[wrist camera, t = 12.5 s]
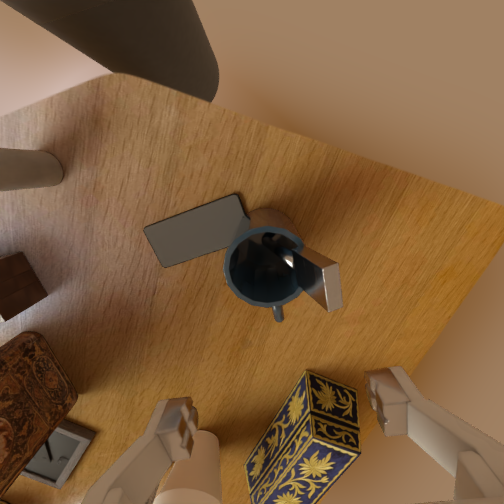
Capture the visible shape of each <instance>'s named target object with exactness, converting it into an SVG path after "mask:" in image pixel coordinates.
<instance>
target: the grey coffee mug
mask: <svg viewBox="0 0 504 504" xmlns="http://www.w3.org/2000/svg"><path fill="white" fill-rule="evenodd" d="M263 237H270V238H271V239H273V240H274V241H276V242H277V243H279V244H281V245H282V246H284V247H285V248H287V249H288V250H290V251H292V249H294V248H297V247H300V246H303V245H304V246H306V245H305V243H304V242H303V240H302V238H301V236H300V235H299V233H298V231H297V230H296V228H295V226H294V225H293V223H292V222H291V220H290V219H289V217H287V216H286V215H285V214H283V213H282V212H280V211H278V210H275V209H271V208H260V209H256V210H253V211H251V212H249V213H248V214H246V216H244V217H243V218H242V219H241V220H240V222H239V224H238V225H237V227H236V228H235V231H234V233H233V236H232V238H231V241H230V243H229V246H228V248H227V251H226V253H225V259H224V266H223V271H224V275H225V278H226V282H227V285H228V286H229V287H230V289H231V290H232V291H233V292H234V293H235V295H236V296H237V297H238V298H240V299H242V300H244V301H245V302H247V303H249V304H251V305H254V306H260V307H266V308H269V307H272V310H273V314H274V319H275V321H276V322H282V321H283V320H284V313H283V306H282V305H284V304H286V303H288V302H290V301H291V300H293V299H295V298H297V297H298V296H299V295H300V293H301V292H302V291H303V289H302V288H301V287H299V286H298V284H297V278H296V273H295V270H294V269H293V268H292V267H291V266H289V265H288V264H287V263H285V262H284V261H283V260H282V259H280V258H279V257H278V256H276V255H275V254H274V253H273V252H271V251H270V250H269V249H267V248H266V247H265V246H264V245H263V244H262V239H263Z"/></svg>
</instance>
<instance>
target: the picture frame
mask: <svg viewBox="0 0 504 504" xmlns="http://www.w3.org/2000/svg"><path fill="white" fill-rule="evenodd" d="M94 435H95V432H93V431H90V430H88V429H86V428H83V427H81V426H79V425H76V424H74V423H71V422H69V421H67V420H64V419H63V420H62V421H61V423H60V424H59V425H58V427H57V428H56V429H55V430H54V432H53V433H52V434H51V435H50V437H49V438H48V439H47V440H46V442H45V443H44V444H43V446H42V447H41V448H40V449H39V451H38V452H37V453H36V454H35V456H34V457H33V458H32V460H31V461H30V462H29V463H28V465H27V466H26V467H25V468H24V470H23V471H22V472H21V473H20V475H23V476H25V477H28V478H31V479H33V480H36V481H39V482H41V483H44V484H47V485H49V486H52V487H55V488H57V489H61V488H62V486H63V485H64V483H65V481H66V480H67V478H68V477H69V475H70V473H71V472H72V470H73V469H74V467H75V465H76V464H77V462H78V461H79V459H80V457H81V456H82V454H83V453H84V451H85V449H86V448H87V446H88V445H89V443H90V441H91V440H92V438H93V437H94Z"/></svg>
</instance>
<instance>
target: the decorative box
mask: <svg viewBox="0 0 504 504" xmlns="http://www.w3.org/2000/svg"><path fill="white" fill-rule="evenodd" d="M359 429H360V427H359V412H358V397H357V390H356V389H354V388H351V387H349V386H346V385H343V384H341V383H338V382H336V381H333V380H331V379H328V378H326V377H323V376H320V375H318V374H315V373H313V372H310V371H308V370H305V372H304V373H303V375H302V376H301V378H300V379H299V381H298V382H297V384H296V385H295V387H294V388H293V390H292V392H291V393H290V395H289V396H288V398H287V399H286V401H285V402H284V404H283V405H282V407H281V408H280V410H279V412H278V413H277V415H276V416H275V418H274V419H273V421H272V422H271V424H270V425H269V427H268V428H267V430H266V432H265V433H264V435H263V436H262V438H261V439H260V441H259V442H258V444H257V445H256V447H255V448H254V450H253V452H252V453H251V455H250V456H249V458H248V459H247V461H246V462H245V464H244V469H245V474H246V479H247V484H248V489H249V494H250V499H251V504H316V503H317V502H318V501H319V500H320V498H321V497H322V496H323V495H324V494H325V493H326V492H327V491H328V490H329V489H330V487H331V486H332V485H333V484H334V483H335V482H336V481H337V480H338V479H339V478H340V476H341V475H342V474H343V473H344V472H345V471H346V470H347V469H348V467H350V465H351V464H352V463H353V462H354V461H355V460H356V459H357V458H358V457H359V455H360V454H361V442H360V430H359Z"/></svg>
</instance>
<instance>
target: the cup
mask: <svg viewBox="0 0 504 504" xmlns="http://www.w3.org/2000/svg"><path fill="white" fill-rule="evenodd" d="M192 438H193V440H194V445H193V449H192V453H191V457H190V459H185V460H179V461H175V463H174V465H173V467H172V469H171V471H170V473H169V475H168V477H167V479H166V481H165V483H164V485H163V487H162V489H161V491H160V493H159V495H158V496H157V497H156V498H155V499H154V502H153V504H222V489H221V471H220V454H219V440H218V438H217V437H216V436H215V435H214V434H213V433H211V432H208V431H203V430H198V431H197V432H196V433H195V434H194V435H193V437H192Z"/></svg>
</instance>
